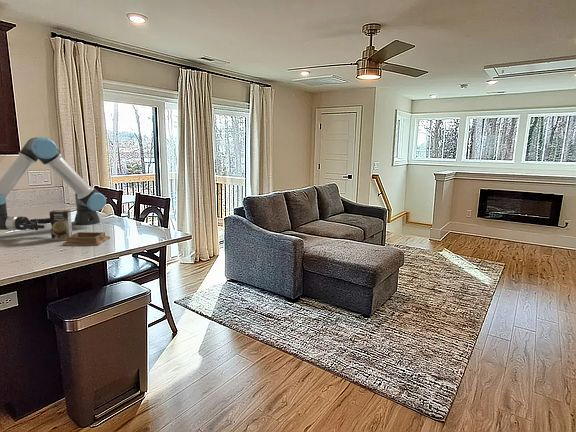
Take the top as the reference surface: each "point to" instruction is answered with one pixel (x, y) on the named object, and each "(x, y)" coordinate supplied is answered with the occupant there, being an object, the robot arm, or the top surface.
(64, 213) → the coffee box
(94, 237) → the socket bay
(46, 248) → the top surface
